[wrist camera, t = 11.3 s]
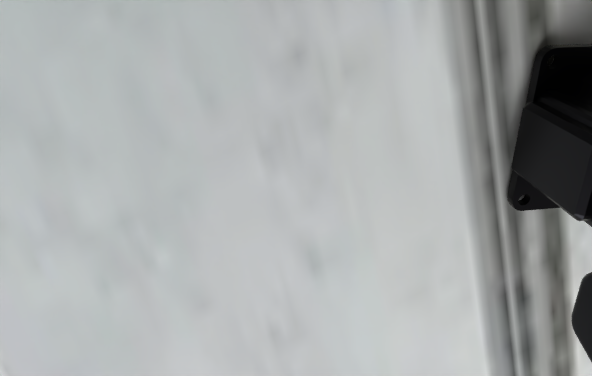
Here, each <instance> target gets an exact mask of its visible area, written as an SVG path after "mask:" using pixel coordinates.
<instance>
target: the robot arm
mask: <svg viewBox="0 0 592 376" xmlns="http://www.w3.org/2000/svg"><path fill="white" fill-rule="evenodd" d="M553 55H554V60H553V62H552V64H550V65H549V66H547V62H548V59H549V58H550V57H551V56H553ZM512 169H513V171H512V176H511V181H510V186H509V191H508V202H509V204H510V205H511V206H513V207H514V208H515V209H517V210H520V211H524V210H536V209H548V208H560V207H561V208H562V209H563V210H564V211H566V212H567V213H568V214H570V215H571V216H572V217H573V218H575V219H576V220H578V221H585V222H586V223H587V224H589V225H590V226H591V227H592V44H576V45H550V46H546V47H544V48H542V49H541V50H540V51H539V52H538V54H537V55H536V58H535V61H534V66H533V71H532V76H531V81H530V86H529V91H528V96H527V101H526V106H525V107H524V108H523V112H522V117H521V122H520V127H519V132H518V137H517V142H516V147H515V152H514V157H513V162H512ZM524 194H525V195H524ZM522 195H524V198H522V199H521V200H519V198H520V197H521V196H522ZM518 200H519V201H518ZM572 326H573V329H574V332H575V334H576V336H577V337H578V339H579V341H580V343H581V344H582V346H583V348H584V350H585V351H586V353H587V355H588V357H589V358H590V360H591V362H592V272H591V273H589V274H586V275H585V277H584V278H583V279H582V282H581V285H580V288H579V292H578V295H577V299H576V302H575V305H574V309H573V312H572Z"/></svg>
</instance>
